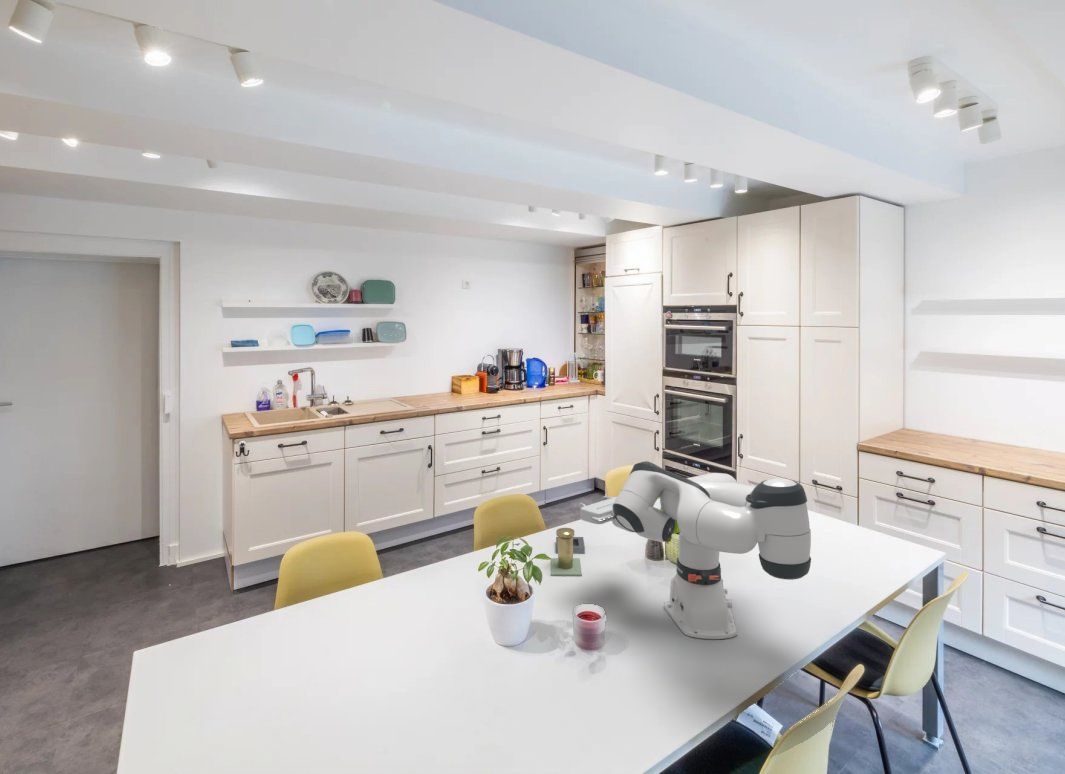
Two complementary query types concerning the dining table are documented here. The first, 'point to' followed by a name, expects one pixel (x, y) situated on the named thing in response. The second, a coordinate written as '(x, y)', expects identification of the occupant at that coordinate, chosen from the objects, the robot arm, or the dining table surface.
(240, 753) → the dining table surface
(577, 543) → the housing
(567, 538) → the olive metal cylinder
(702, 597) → the robot arm
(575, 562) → the mat
